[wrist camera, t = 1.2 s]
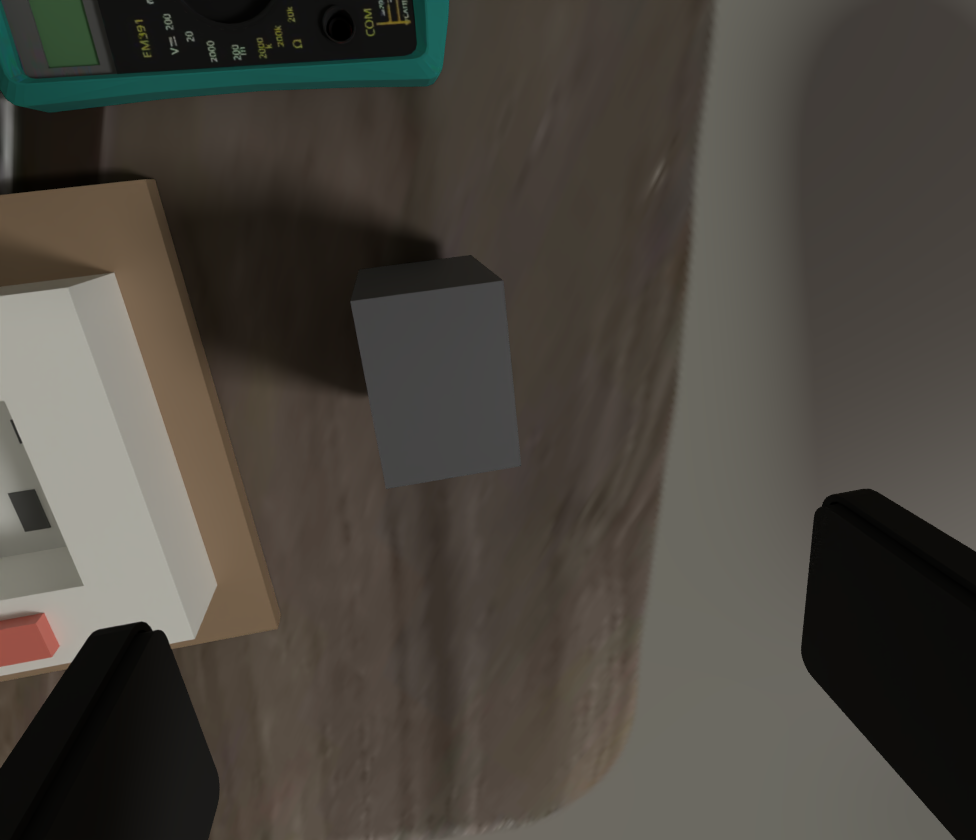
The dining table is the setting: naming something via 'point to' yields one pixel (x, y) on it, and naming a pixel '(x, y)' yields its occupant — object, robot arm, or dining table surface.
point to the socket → (112, 438)
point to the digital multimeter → (211, 48)
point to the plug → (437, 368)
